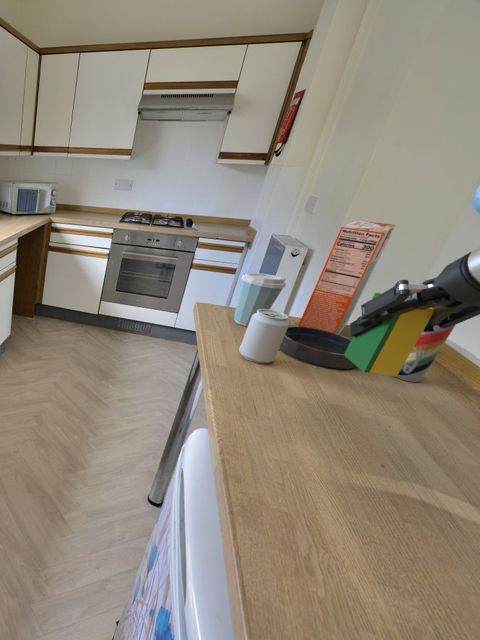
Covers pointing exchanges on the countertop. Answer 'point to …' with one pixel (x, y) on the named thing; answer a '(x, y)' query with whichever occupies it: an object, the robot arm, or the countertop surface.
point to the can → (264, 335)
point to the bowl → (317, 347)
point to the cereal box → (345, 275)
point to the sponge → (388, 342)
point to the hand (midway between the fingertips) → (370, 332)
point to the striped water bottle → (424, 354)
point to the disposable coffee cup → (256, 295)
